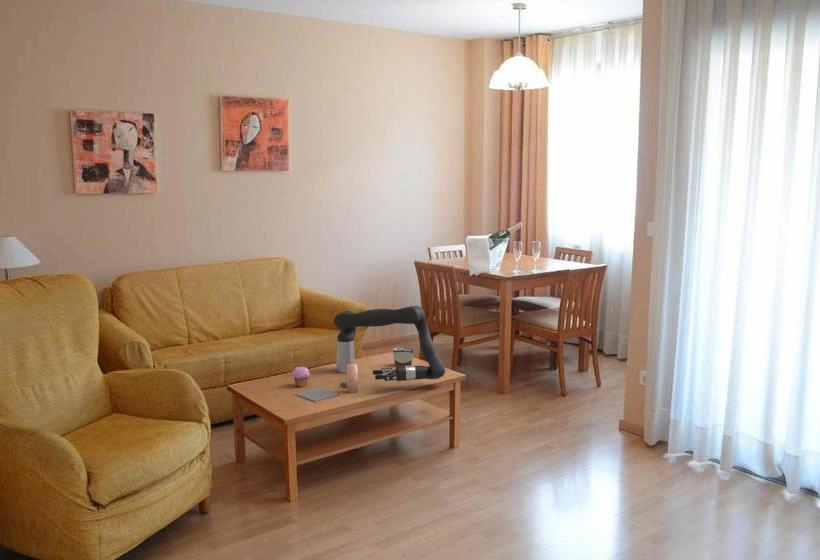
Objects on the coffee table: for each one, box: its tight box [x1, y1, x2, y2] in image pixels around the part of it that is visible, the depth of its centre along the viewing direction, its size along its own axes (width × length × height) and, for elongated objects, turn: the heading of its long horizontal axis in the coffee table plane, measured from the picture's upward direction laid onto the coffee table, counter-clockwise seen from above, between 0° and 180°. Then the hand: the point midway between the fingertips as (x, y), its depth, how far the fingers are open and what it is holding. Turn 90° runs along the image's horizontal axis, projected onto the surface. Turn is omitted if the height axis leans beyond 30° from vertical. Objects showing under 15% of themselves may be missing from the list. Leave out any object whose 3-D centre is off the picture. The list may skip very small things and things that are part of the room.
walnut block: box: [340, 380, 347, 389], centre depth 374 cm, size 5×5×2 cm
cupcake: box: [291, 366, 311, 388], centre depth 374 cm, size 9×9×10 cm
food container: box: [391, 346, 415, 367], centre depth 412 cm, size 12×6×10 cm, turn 84°
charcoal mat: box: [295, 387, 340, 403], centre depth 360 cm, size 15×15×1 cm
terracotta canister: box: [346, 362, 359, 394], centre depth 365 cm, size 5×5×14 cm
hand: (373, 374), depth 367 cm, fingers open, 8 cm apart
